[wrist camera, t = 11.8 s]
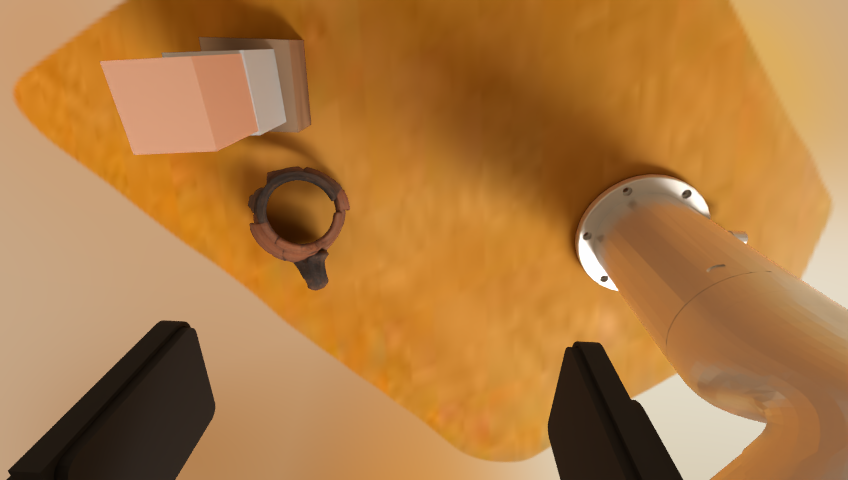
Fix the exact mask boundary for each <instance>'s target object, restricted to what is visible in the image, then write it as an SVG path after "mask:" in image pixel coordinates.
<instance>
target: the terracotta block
mask: <svg viewBox="0 0 848 480" xmlns="http://www.w3.org/2000/svg"><path fill="white" fill-rule="evenodd" d="M100 63H101V66H102V68H103V71H104V74H105V77H106V79H107V82H108V85H109V88H110V90H111V93H112V96H113V99H114V101H115V104H116V107H117V110H118V112H119V115H120V118H121V121H122V123H123V126H124V129H125V132H126V134H127V137H128V140H129V143H130V145H131V148H132V151H133V154H134V155H140V154H163V153H186V152H209V151H218V150H221V149H223V148H225V147H227V146H229V145H231V144H233V143H235V142H237V141H239V140H241V139H243V138H245V137H247V136H249V135H251V134H253V133H255V132H258V131H259V130H258V126H257V121H256V117H255V112H254V108H253V103H252V99H251V94H250V90H249V85H248V81H247V76H246V72H245V68H244V63H243V59H242V54H223V55H204V56H186V57H168V58H150V59H133V60H115V61H100Z"/></svg>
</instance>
